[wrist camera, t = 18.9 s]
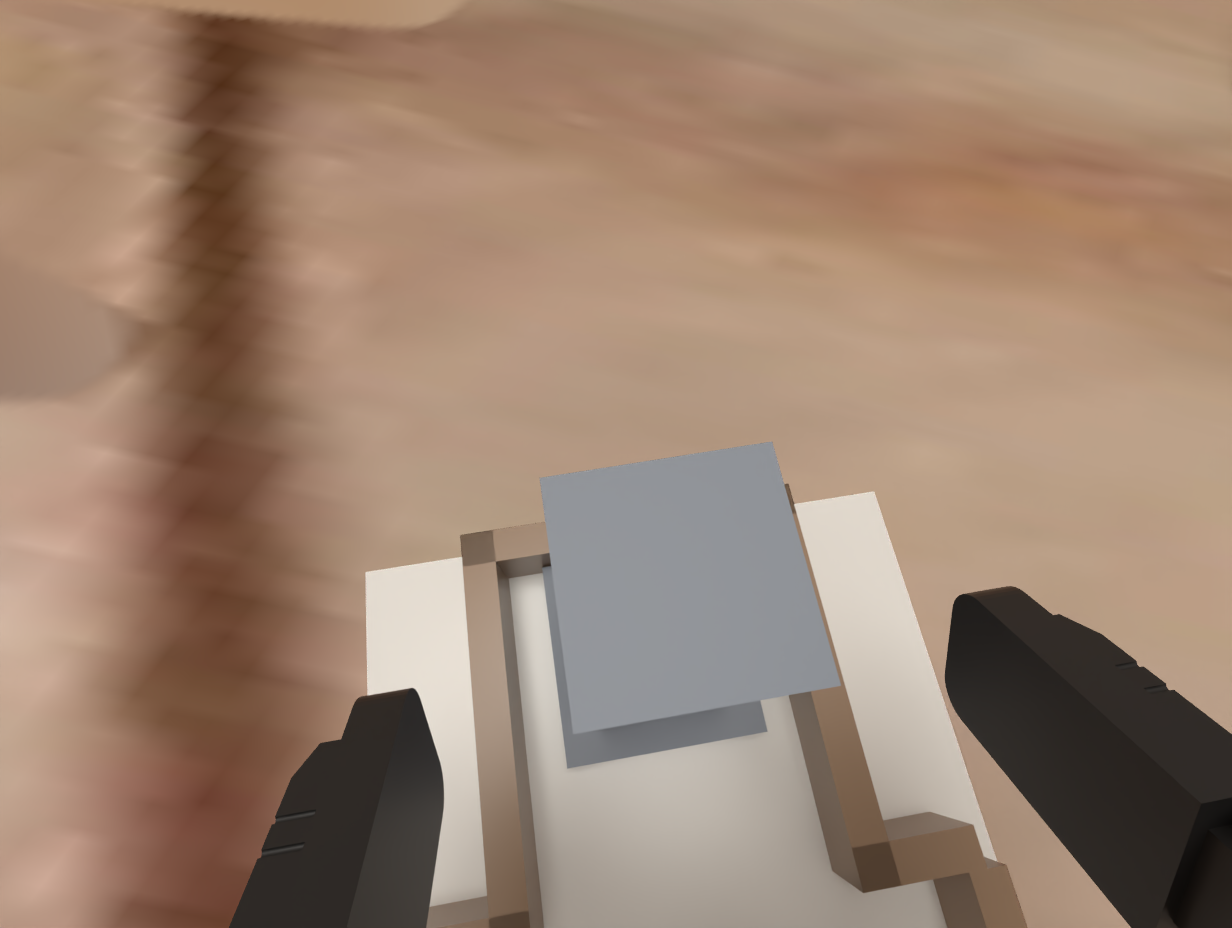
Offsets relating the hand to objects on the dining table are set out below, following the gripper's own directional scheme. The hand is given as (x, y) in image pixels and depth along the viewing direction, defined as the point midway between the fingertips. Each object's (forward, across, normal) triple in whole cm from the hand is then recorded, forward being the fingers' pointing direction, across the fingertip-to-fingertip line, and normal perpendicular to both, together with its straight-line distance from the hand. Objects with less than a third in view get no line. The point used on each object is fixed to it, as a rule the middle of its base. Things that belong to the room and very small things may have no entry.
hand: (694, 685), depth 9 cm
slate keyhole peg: (+9, 0, +7) cm, 12 cm away
